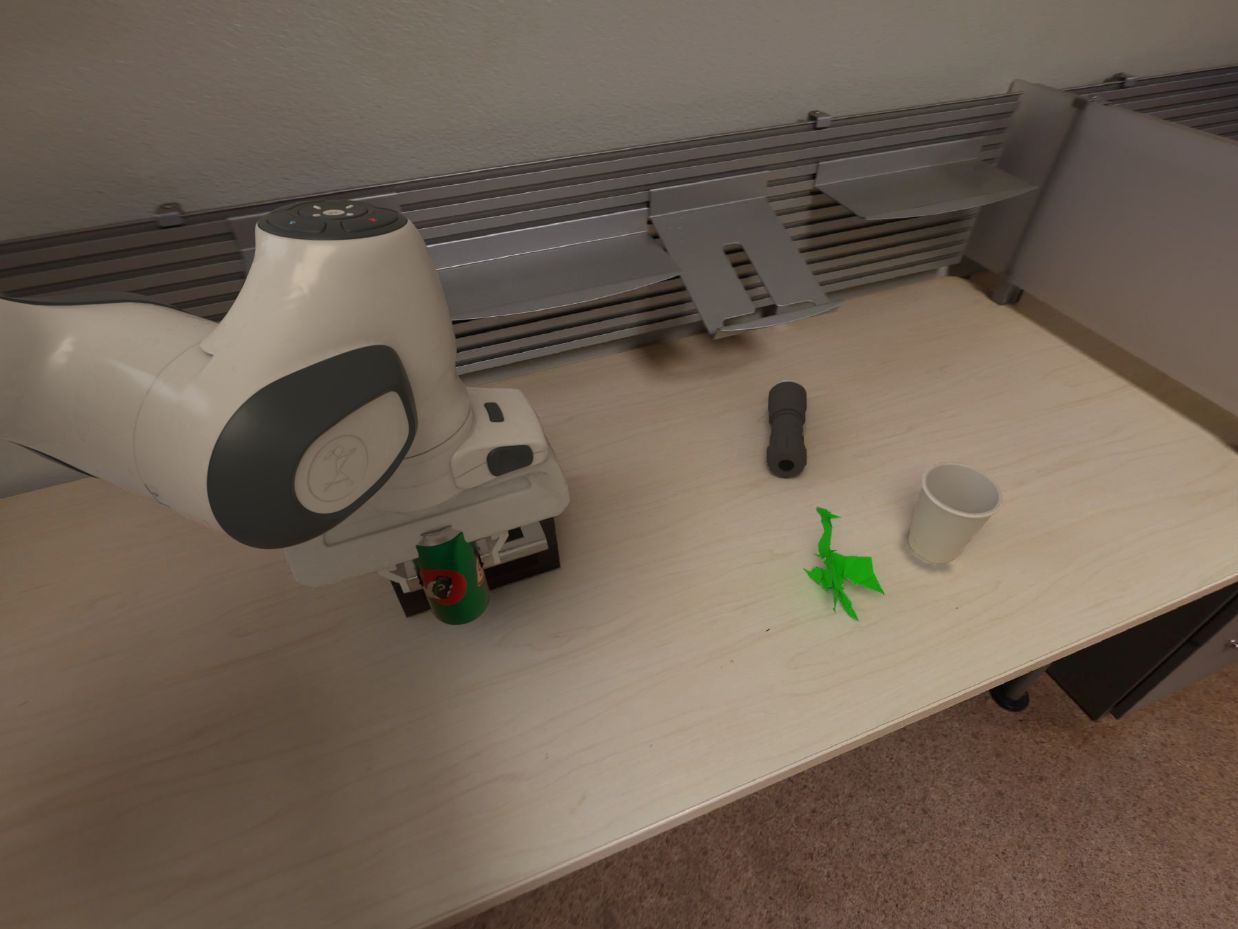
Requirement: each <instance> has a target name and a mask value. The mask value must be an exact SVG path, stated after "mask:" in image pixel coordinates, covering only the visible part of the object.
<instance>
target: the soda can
mask: <svg viewBox="0 0 1238 929" xmlns="http://www.w3.org/2000/svg"><path fill="white" fill-rule="evenodd" d="M451 527H452V525H448V526H446V527H444V528H443V529H440V530H438V531H434V532H426V533H422V534H420V536H423V537H422V538H421V540H420V541H419V542H418V543H417V545H416V546H415V547H416V549H417V551H418V558H416V559H412V562H413V564H414V567H415V569H416V572H417V574H418V576H419V579H420V582H421V584H422V587H423V589H424V592H425V594H426V597H427V600H428V602H429V605H430V607H431V610H430V611H431V612H432V614H433V616H434V617H435V618H436V619H437V620H438V621H439V622H441V623H442V624H445V625H449V626H461V625H462V626H463V625H466V624H469V623H471V622H473V621H476V620H477V619H478V618H480V617H481V616H482V615H483V614H484V613H485V612H486V610H487V609H488V607H489V605H490V602H491V590H490V589H489V585H488V582H487V578H486V574H485V571H484V568H483V565H482V562H481V558H480V554H479V549H478V545H477V542H476V540H475V541H471V542H468V543H467V542H466V540H465V539H464V535H463V532H461V531H458V530H455V529H452V528H451Z"/></svg>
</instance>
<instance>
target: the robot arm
mask: <svg viewBox="0 0 1238 929" xmlns="http://www.w3.org/2000/svg"><path fill="white" fill-rule="evenodd" d="M254 240H255V241H254V242H255V250H254V256H253V260H252V263H251V266H250V268H249V270H248V273H247V276H246V278H245V281H244V284H243V285H242V287H241V290H240V291H239V293H238V295H237V297H236V299H235V300H234V302H233V304H232V306H231V307H230V308H229V310H228V311H227V313H226V314H225V315H224V317H223V318H222V320H221V321H220V322H217V321H214V320H211V319H207V318H204V317H201V316H198V315H195V314H193V313H191V312H188V311H186V310H184V309H182V308H179V307H177V306H174V305H172V304H170V303H167V302H164V301H162V300H159V299H157V298H154V297H151V296H149V295H145V294H140V293H135V292H130V291H118V290H97V291H96V290H95V291H84V292H75V293H67V294H66V293H65V294H57V295H48V296H33V297H8V296H0V440H2V441H6V442H9V443H12V444H15V445H18V446H20V447H22V448H23V449H25V450H28V451H29V452H32V453H34V454H36V455H38V456H39V457H41V458H43V459H46V460H47V461H50V462H52V463H55V464H57V465H59V466H62V467H65V468H67V469H70V470H73V471H75V472H78V473H80V474H83V475H86V476H88V477H91V478H94V479H99V480H102V481H104V482H106V483H109V484H111V485H112V486H115V487H117V488H120V489H122V490H124V491H126V492H128V493H131V494H132V495H134V496H136V497H139V498H141V499H143V500H145V501H148V502H151V503H152V504H154V505H156V506H159V507H161V508H163V509H166V510H168V511H170V512H171V513H174V514H175V515H177V516H179V517H181V518H183V519H186V520H187V521H190V522H192V523H194V524H197V525H199V526H201V527H203V528H205V529H207V530H210V531H213V532H215V533H217V534H220V535H222V536H223V537H226V538H229V539H232V540H234V541H236V542H238V543H240V544H242V545H245V546H247V547H251V548H254V549H259V550H260V549H261V550H280V549H282V551H283V554H284V556H285V559H286V562H287V565H288V567H289V570H290V572H291V574H292V576H293V578H294V579H295V581H296V583H297V584H299V585H300V586H303V587H308V588H311V589H321V588H324V587H328V586H330V585H333V584H337V583H340V582H343V581H347V580H349V579H353V578H356V577H361V576H363V575H366V574H369V573H373V572H377V575H378V576H380V577H382V578H384V579H387V580H389V581H390V580H392V581H394V582H397V583H398V582H399V583H400V585H401V588H402V590H403V592H404V593H407V592H410V591H412V590H416V589H419V588H422V584H421V582H420V579H419V576H418V574H417V572H416V569H415V567H414V564H413V562H412V561H409V560H412V559H416V558H418V551H417V549H416V547H415V546H416V545H417V543H418V542H419V541H420V540H421V538H422V537H423V536H420V534H422V533H426V532H434V531H438V530H440V529H443V528H444V527H446V526H448V525H452V527H451V528H452V529H455V530H458V531H461V532H463V535H464V539H465V540H466V542H467V543H468V542H471V541H475V540H478V539H481V538H484V539H481V540H478V541H476V542H477V545H478V549H479V554H480V558H481V562H482V565H483V568H485V567H489V566H492V565H495V564H499V563H500V558H499V553H498V551H500V549H501V548H502V546H503V544H504V543H505V541H506V539H507V538H508V536H509V534H508V530H511V529H514V528H517V527H521V526H524V525H527V524H531V523H534V522H537V521H540V520H544V519H547V518H550V517H554V518H555V517H557V516H560V515H561V514H563V513H564V512H565V510H566V509H567V507H568V506H569V504H570V502H571V497H570V491H569V486H568V483H567V479H566V476H565V474H564V471H563V468H562V467H561V466H562V465H561V463H560V462H559V459H558V457H557V455H556V452H555V450H554V449H553V446H552V444H551V443H550V440H549V439H548V437H547V435H546V433H545V429H544V428H543V425H542V422H541V420H540V418H539V415H538V413H537V412H536V410H535V408H534V406H533V405H532V403H531V402H530V400H529V399H528V397H527V396H526V394H524V392H523V391H522V390H520V389H518V388H512V387H511V388H510V387H476V386H465V384H464V382H463V381H462V379H461V378H460V376H459V375H458V372H457V366H456V362H457V354H458V345H457V338H456V334H455V331H454V330H455V329H454V326H453V321H452V318H451V314H450V311H449V309H450V308H449V306H448V302H447V298H446V295H445V292H444V288H443V285H442V281H441V278H440V275H439V272H438V270H437V266H436V264H435V262H434V259H433V257H432V254H431V251H430V250H429V247H428V245H427V244H426V242H425V240H424V238H423V237H422V235H421V233H420V231H419V230H418V228H417V227H416V226H415V224H414V223H413V222H412V220H411V219H409V218H408V217H407V216H405V215H404V214H402V213H400V212H399V211H397V210H394V209H392V208H388V207H386V206H382V205H378V204H374V203H369V202H364V201H357V200H352V199H344V198H343V199H327V200H326V199H325V198H323V199H313V200H304V201H298V202H293V203H289V204H286V205H282V206H280V207H277V208H274V209H272V210H271V211H269V212H268V213H266V214H264V215H263V216H262V217H260V218H259V219H258V220H257V221H256V223H255V228H254ZM406 561H408V562H406ZM404 562H405V563H404Z"/></svg>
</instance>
